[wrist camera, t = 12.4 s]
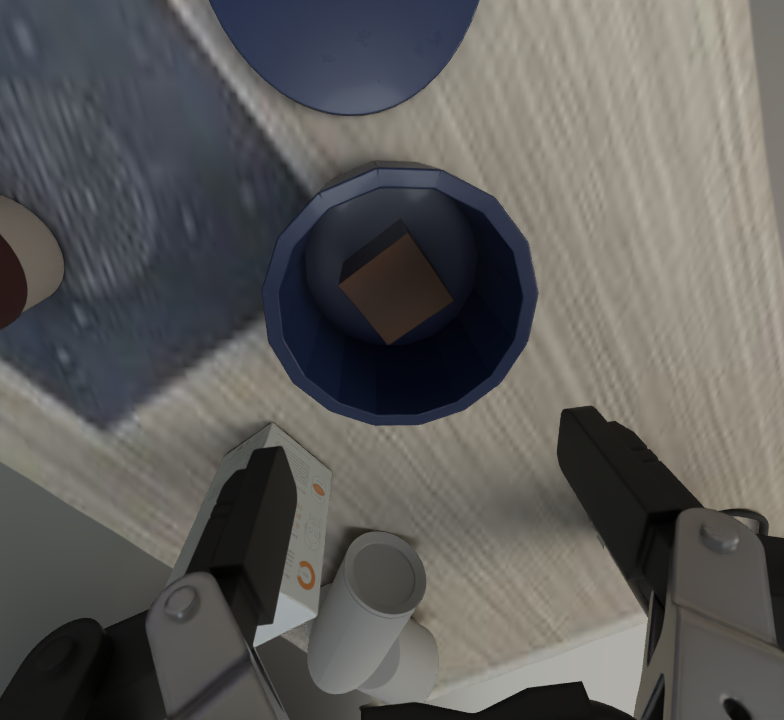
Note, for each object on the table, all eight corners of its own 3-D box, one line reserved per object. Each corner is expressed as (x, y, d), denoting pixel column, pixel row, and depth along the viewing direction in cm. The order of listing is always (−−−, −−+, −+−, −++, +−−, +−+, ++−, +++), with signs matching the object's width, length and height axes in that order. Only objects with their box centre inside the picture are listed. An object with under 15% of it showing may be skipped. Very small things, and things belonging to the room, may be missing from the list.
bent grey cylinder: (252, 595, 43) (372, 657, 51) (239, 703, 34) (389, 759, 42) (367, 492, 42) (471, 572, 50) (387, 573, 32) (513, 656, 40)
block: (441, 276, 28) (454, 301, 24) (385, 316, 29) (388, 346, 25) (401, 218, 26) (407, 232, 21) (342, 262, 27) (337, 285, 23)
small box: (222, 455, 35) (153, 602, 24) (272, 419, 34) (224, 559, 22) (286, 502, 39) (252, 651, 27) (334, 472, 37) (320, 616, 26)
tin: (522, 216, 27) (592, 247, 18) (432, 373, 32) (454, 452, 24) (335, 120, 23) (317, 105, 15) (271, 314, 29) (233, 381, 21)
